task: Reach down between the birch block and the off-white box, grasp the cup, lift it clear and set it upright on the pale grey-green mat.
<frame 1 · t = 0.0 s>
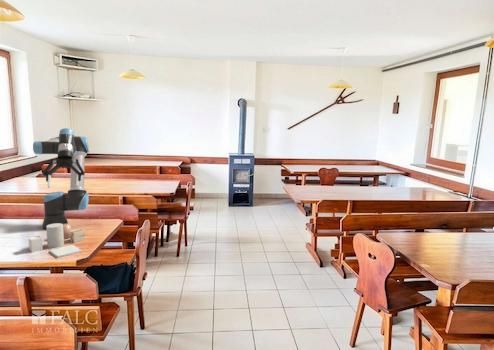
hand: (63, 186, 174), 36 cm above the table, tool tilted 35°, fingers open, 13 cm apart
terracotta cylinder: (65, 237, 197), on the table
birch block: (77, 240, 193), on the table
mat: (65, 251, 175), on the table
cup: (55, 245, 184), on the table
offwhite box: (35, 250, 176), on the table
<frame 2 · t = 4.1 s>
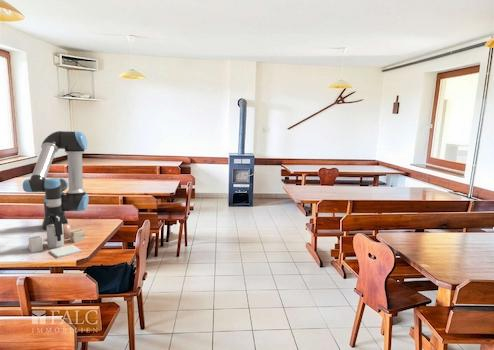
hand: (55, 244, 184), 1 cm above the table, tool pointing down, fingers closed on cup, 8 cm apart
cup: (55, 245, 184), on the table, touching gripper
everything else where it was.
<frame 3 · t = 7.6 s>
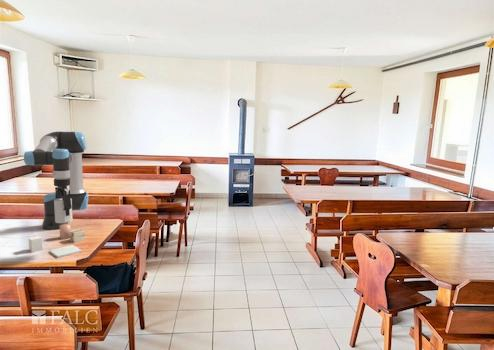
hand: (63, 219, 172), 18 cm above the table, tool pointing down, fingers closed on cup, 8 cm apart
cup: (63, 221, 172), point 17 cm above the table, touching gripper
everything else where it was.
when the fingers open (3 cm above the table, at t = 11.1 s): cup drops 1 cm, resting on mat.
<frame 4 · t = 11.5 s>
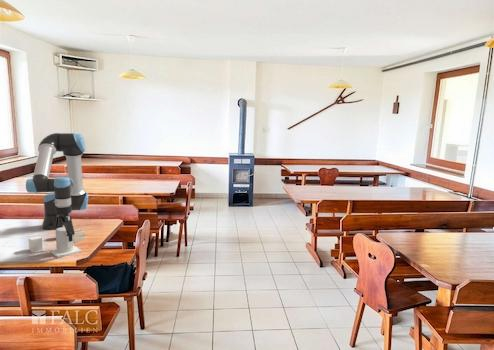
hand: (65, 243, 174), 5 cm above the table, tool pointing down, fingers open, 13 cm apart
cup: (65, 250, 175), point 1 cm above the table, touching mat
everything else where it was.
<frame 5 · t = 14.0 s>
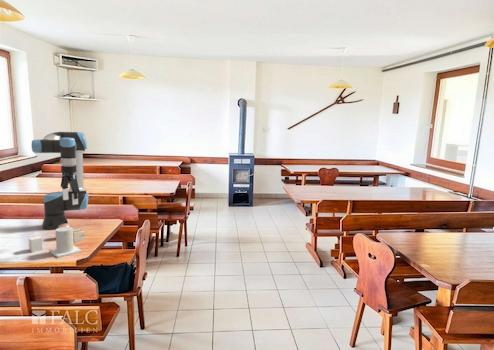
hand: (70, 202, 182), 25 cm above the table, tool pointing down, fingers open, 13 cm apart
nothing on the table moved.
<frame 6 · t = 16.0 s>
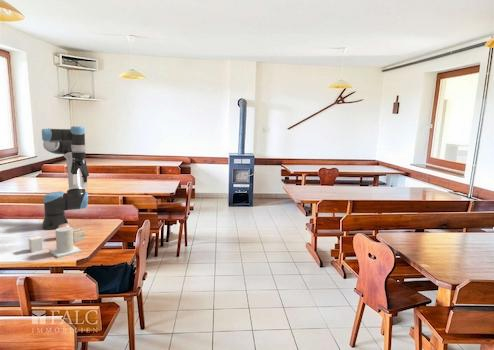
hand: (80, 185, 198), 32 cm above the table, tool pointing down, fingers open, 13 cm apart
nothing on the table moved.
at the end: cup inside the target area on the mat (0.1 cm from its centre), point 0.8 cm above the mat's base; cup tilted 0°; offwhite box moved 0.1 cm from its start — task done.
